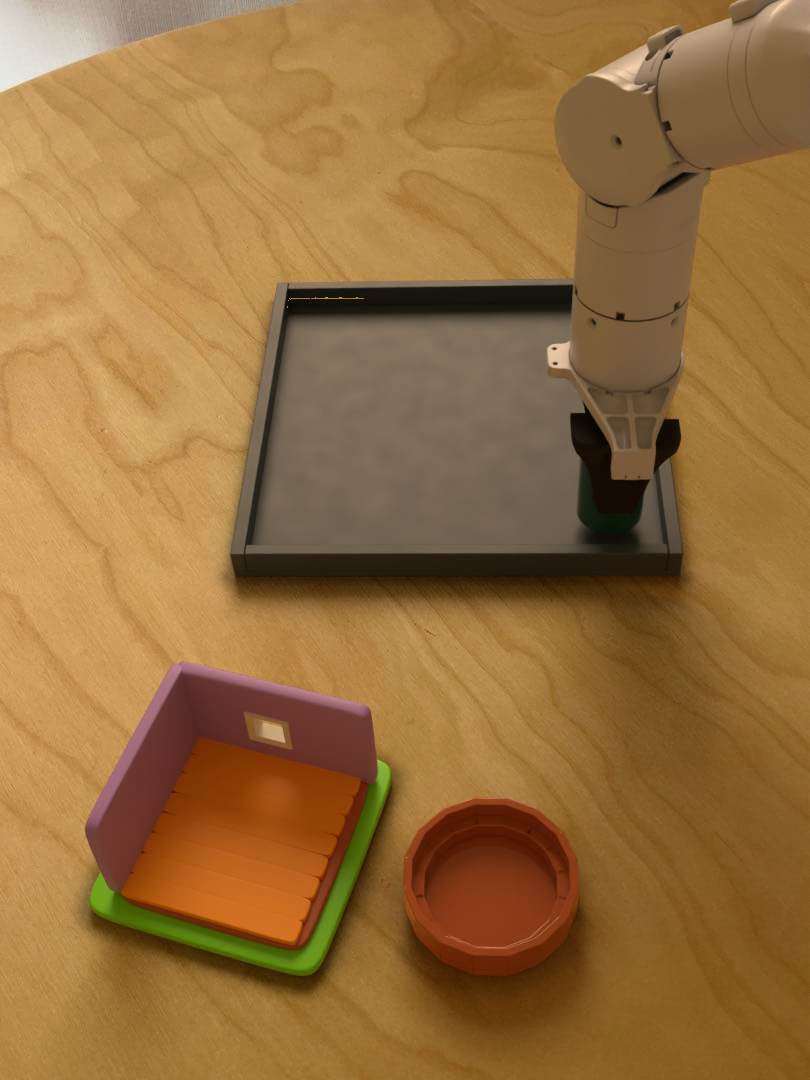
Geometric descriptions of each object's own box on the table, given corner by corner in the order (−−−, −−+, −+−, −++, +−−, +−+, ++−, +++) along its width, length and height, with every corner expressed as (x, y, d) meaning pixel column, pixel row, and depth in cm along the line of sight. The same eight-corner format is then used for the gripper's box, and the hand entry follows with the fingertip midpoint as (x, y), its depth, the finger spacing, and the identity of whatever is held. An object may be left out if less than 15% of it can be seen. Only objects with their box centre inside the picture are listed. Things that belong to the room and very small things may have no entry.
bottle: (639, 487, 79) (652, 370, 72) (644, 534, 76) (658, 417, 70) (574, 487, 79) (582, 370, 73) (577, 534, 77) (585, 418, 70)
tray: (644, 299, 93) (646, 276, 92) (680, 576, 76) (683, 553, 75) (280, 304, 95) (277, 282, 94) (234, 576, 78) (229, 554, 76)
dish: (572, 825, 66) (574, 798, 64) (579, 982, 60) (582, 957, 58) (409, 823, 66) (406, 796, 64) (402, 978, 61) (399, 954, 59)
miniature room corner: (186, 715, 71) (162, 635, 66) (399, 769, 68) (392, 689, 63) (81, 915, 64) (46, 842, 58) (317, 985, 61) (301, 914, 56)
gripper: (545, 204, 71) (538, 396, 81) (554, 383, 61) (545, 577, 71) (679, 201, 71) (656, 395, 81) (710, 382, 61) (679, 577, 71)
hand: (612, 481), depth 76 cm, fingers closed on bottle, 4 cm apart
